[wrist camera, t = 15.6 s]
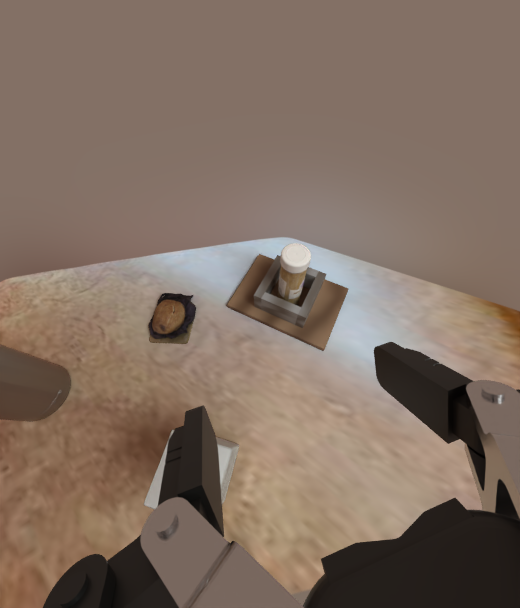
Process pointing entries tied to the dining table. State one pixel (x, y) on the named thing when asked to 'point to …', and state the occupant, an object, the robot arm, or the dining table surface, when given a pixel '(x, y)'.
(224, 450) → the supplement box
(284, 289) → the sprinkles bottle
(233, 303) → the collar board
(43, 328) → the dining table surface
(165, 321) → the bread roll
